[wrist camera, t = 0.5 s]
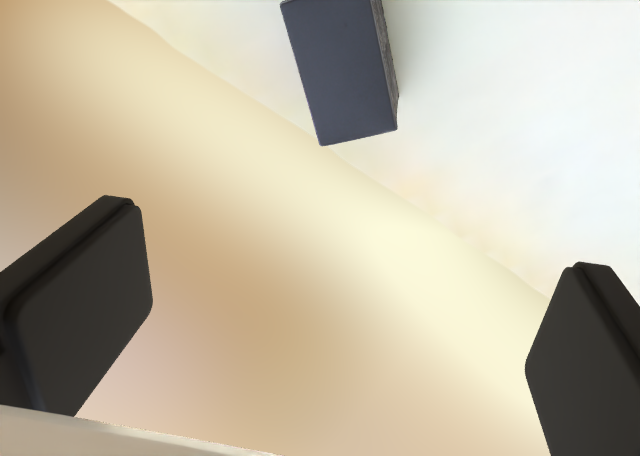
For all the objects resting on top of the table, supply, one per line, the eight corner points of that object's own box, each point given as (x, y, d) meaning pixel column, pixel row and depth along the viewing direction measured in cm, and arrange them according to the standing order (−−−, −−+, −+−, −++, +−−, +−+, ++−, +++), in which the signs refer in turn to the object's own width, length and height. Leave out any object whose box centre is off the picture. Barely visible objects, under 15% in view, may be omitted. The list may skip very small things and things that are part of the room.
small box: (301, -5, 39) (273, 0, 30) (376, -29, 38) (369, -31, 29) (333, 114, 44) (316, 149, 35) (400, 97, 42) (401, 130, 33)
